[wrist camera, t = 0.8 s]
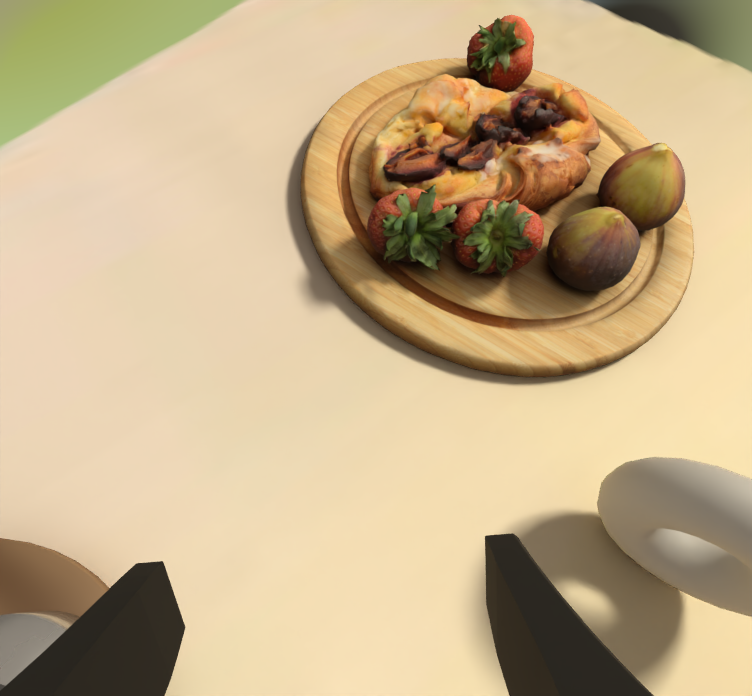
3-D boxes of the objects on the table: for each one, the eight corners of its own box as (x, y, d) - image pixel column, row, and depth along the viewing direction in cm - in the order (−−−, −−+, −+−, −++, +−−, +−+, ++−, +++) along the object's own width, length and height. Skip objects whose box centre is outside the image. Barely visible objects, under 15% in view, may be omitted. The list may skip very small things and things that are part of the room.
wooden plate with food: (371, 43, 47) (380, -56, 40) (681, 137, 46) (750, 52, 39) (233, 297, 33) (207, 217, 26) (676, 443, 32) (784, 403, 24)
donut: (729, 574, 28) (925, 568, 19) (711, 630, 26) (916, 652, 17) (579, 468, 29) (693, 417, 21) (555, 514, 28) (667, 481, 19)
